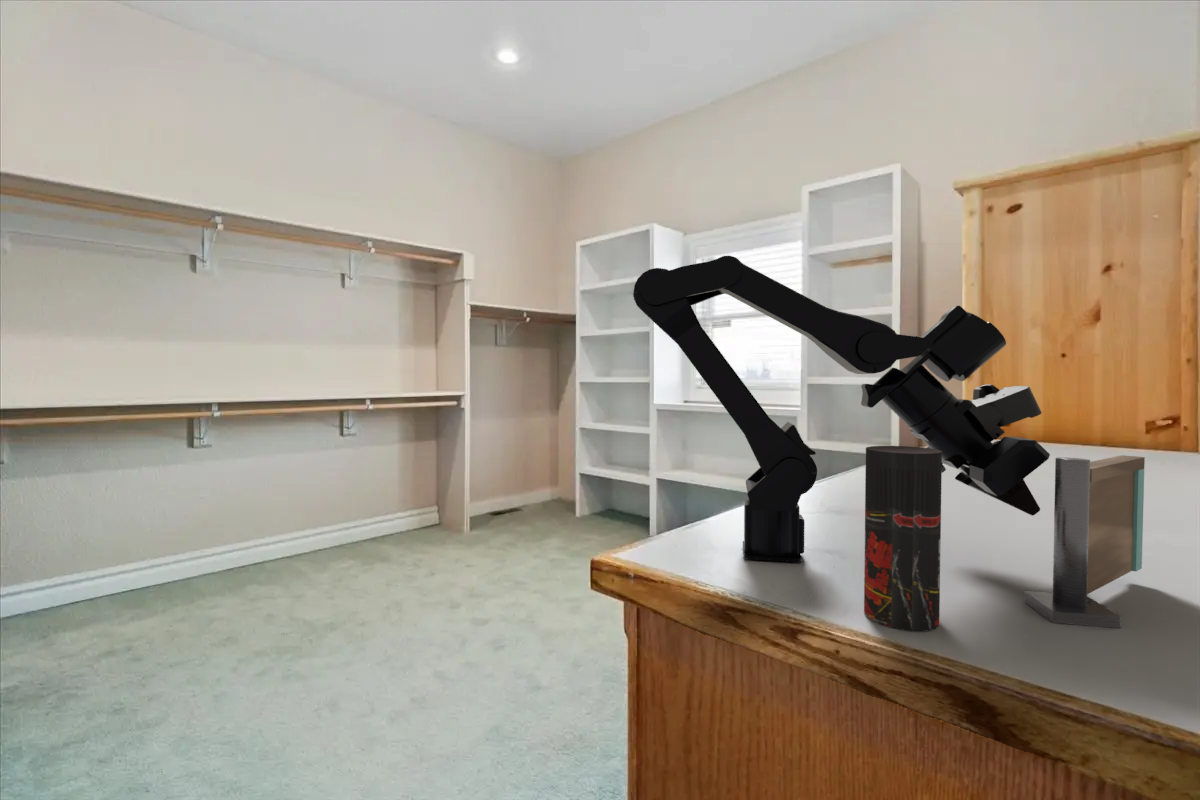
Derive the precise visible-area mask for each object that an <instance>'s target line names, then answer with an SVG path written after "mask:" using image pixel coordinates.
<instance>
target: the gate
mask: <svg viewBox="0 0 1200 800" xmlns="http://www.w3.org/2000/svg"><path fill="white" fill-rule="evenodd" d="M1145 458H1146V457H1145V456H1134V455H1124V454H1123V455H1116V456H1112V457H1108V458H1107V457H1106V458H1102V459H1097V460H1092V461H1090V495H1089V538H1088V581H1087V595H1089V594H1091V593H1093V592H1094V591H1097V590H1098V589H1100V588H1102V587H1104V586H1106V585H1107V584H1110V583H1111V582H1114V581H1116V580H1117V579H1119V578H1121V577H1123V576H1125V575H1127V574H1128V573H1131V572H1138V571H1140V570H1141V569H1142V568H1143V567H1142V565H1143V540H1144V539H1143V534H1144V499H1145V498H1144V494H1145V486H1144V485H1145V460H1146V459H1145Z"/></svg>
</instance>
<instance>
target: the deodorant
mask: <svg viewBox="0 0 1200 800" xmlns="http://www.w3.org/2000/svg"><path fill="white" fill-rule="evenodd" d="M942 465H943V464H942V451H940V450H937V449H931V448H927V447H919V446H903V445H875V446H874V445H873V446H867V447H865V487H864V488H865V491H864V492H865V494H864V497H865V499H864V500H865V501H864V568H863V569H864V573H863V575H864V577H863V579H864V580H863V581H864V585H863V587H864V588H863V591H864V592H863V593H864V594H863V612H864V613H863V614H864V615H865V616H866V618H868V619H869V620H871V621H872V622H874V623H877V624H878V625H881V626H884V627H887V628H891V629H894V630H899V631H907V632H918V633H919V632H921V633H922V632H930V631H933V630H936V629H937V628H939V626H940V605H941V603H940V600H941V595H940V594H941V591H940V590H941V586H940V585H941V539H942V538H941V536H942V534H941V530H942V477H943V476H942V474H943V473H942Z"/></svg>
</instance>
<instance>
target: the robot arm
mask: <svg viewBox="0 0 1200 800" xmlns="http://www.w3.org/2000/svg"><path fill="white" fill-rule="evenodd" d="M724 294H725V295H728V296H730V297H732V298H733V299H736V300H737V301H740V302H742V303H743V304H744V305H745V304H746V306H749V307H750V308H753V309H754V310H756V311H758V312H760V313H762V314H764V315H766V316H767V317H769V318H771V319H773V320H775V321H776V322H778V323H781V324H782V325H784V326H786V327H788V328H790V329H792V330H794V331H796V332H797V333H799V334H801V335H802V336H805V337H806V338H808V339H809V340H811V342H813V343H814V344H815V345H816V346H817V347H818V348H819V349H820V350H822V352H824V353H825V354H826V355H827V356H828V357H829V358H831V359H832V360H833V361H834V362H836V363H837V364H838V365H840V366H841V367H842V368H843V369H845V370H846V371H848V372H849V373H852V374H856V375H868V374H869V375H870V374H871V375H872V374H879V373H882V372H884V371H886V370H888V369H889V370H888V371H887V372H885V374H883V375H882V376H881V377H880V378H878V380H877V381H875V382H874V383H873V384H869V383H862V384H861V386H860V387H861V391H862V395H861V402H860V405H861V406H862V407H866V408H874V407H875V406H876V405H877V404H878V403H880V402H881V401H882V402H883V403H885V405H886V406H887V407H888V408H890V410H891V411H892V412H894V414H895V415H897V417H898V418H899V419H900V420H902V421H903V423H904V424H905V425H906V426H908V427H909V428H910V431H909V432H910V433H911V435H913V436H914V437H915V438H917V439H920V440H922V441H923V442H924V443H925V444H926V446H927V447H926V448H931V449H937V450H940V451H942V474H944V472H945V471H946V470H947V469H946V467H945V465H947V466H948V467H951V468H953V469H955V470H956V471H957V472H959V473H958V474H956V476H955V478H954V480H956V481H958V482H959V483H962V484H964V485H966V486H968V487H970V488H973V489H975V490H977V491H979V492H980V493H983V494H985V495H987V496H989V497H991V498H994V499H996V500H998V501H1000V502H1002V503H1004V504H1006V505H1009V506H1010V507H1013V508H1014V509H1017V510H1019V511H1022V512H1023V513H1025V514H1027V515H1029V516H1035V515H1036V514H1038V513H1040V511H1041V507H1040V506H1039V504H1038V503H1037V500H1036V499H1035V497H1034V495H1033V494H1032V492H1031V489H1030V488H1029V487H1028V485H1027V483H1026V481H1025V480H1024V479H1025V478H1026V477H1027V476H1029V475H1030V474H1032V472H1034V471H1035V470H1037V468H1039V467H1041V465H1043V464H1044V463H1045V462H1047V461H1048V460H1049V457H1050V456H1051V454H1050V453H1049V452H1048V451H1047V450H1046V449H1045V448H1044V447H1043V446H1042V445H1041V444H1040V443H1039V442H1038V441H1036V440H1035V439H1028V438H1026V437H1025V438H1024V437H1019V436H1003V437H1002V438H1001V439H999V438H1000V437H1001V436H1002V435H1004V434H1005V433H1006V432H1005V431H1004V430H1003V429H1002V428H1003V427H1006V426H1008V425H1011V424H1015V423H1016V422H1019V421H1021V420H1025V419H1027V418H1030V419H1031V418H1035V417H1038V416H1040V415H1041V414H1042V410H1041V408H1040V406H1039V404H1038V402H1037V400H1036V397H1035V396H1034V393H1033V391H1032V389H1031V387H1030V386H1029V385H1028V386H1026V385H1013V386H1009V387H1007V386H1006V387H1002V388H1001V389H999V388H998V387H996V385H994V384H988V383H987V384H983V385H979V386H977V387H975V388H973V394H972V399H971V400H969V399H967V398H966V399H963V398H961V399H960V398H957V397H956V396H955V395H954V394H953V393H952V392H951V390H949V389H947V387H945V386H944V385H943V384H942V382H940V381H939V380H938V379H937V378H936V377H938V378H939V379H940V380H942V381H944V382H950V381H951V380H953V379H954V380H957V381H959V382H964V381H966V380H967V379H968V378H969V377H970V376H972V374H974V373H975V372H976V371H977V370H979V369H980V368H981V367H982V366H984V364H985V363H987V362H988V361H990V359H991V358H993V357H994V356H995V355H996V354H998V352H1000V351H1001V350H1002V349H1003V348H1005V346H1006V345H1007V341H1006V338H1005V336H1004V335H1003V334H1002V332H1001V331H1000V330H999V329H998V328H997V326H995V325H994V324H993V323H991V321H986V320H984V319H983V318H981V317H979V316H978V315H976V314H973V313H972V312H969V311H966V310H965V309H964V308H963V306H961V305H956V306H952V307H950V308H949V309H948V310H947V311H946V312H944V314H942V316H941V317H940V319H939V320H938V321H937V322H935V324H934V325H933V326H931V327H930V328H929V329H928V330H926V331H925V332H924V333H923V334H922V335H921V336H918V335H906V334H898V333H896V331H895V330H894V329H892V328H891V327H890V326H888V324H885V323H881V322H879V321H875V320H872V319H869V318H866V317H864V316H863V317H862V316H860V315H857V314H852V313H848V312H844V311H838V310H835V309H832V308H830V307H826V306H825V305H823V304H821V303H819V302H818V301H815V300H813V299H811V298H809V297H807V296H805V295H804V294H801V293H799V292H797V291H796V290H794V289H792V288H790V287H788V286H787V285H785V284H782V283H781V282H778V281H777V280H774V279H773V278H771V277H769V276H767V275H765V274H764V273H762V272H760V271H758V270H756V269H754V268H752V267H750V266H748V265H746V264H745V263H743V262H742V261H741V260H740V259H738V258H737V257H735V256H732V255H723V256H720V257H718V258H715V259H712V260H709V261H705V262H698V263H693V264H688V265H683V266H680V267H676V268H673V269H670V270H669V269H667V268H661V267H654V268H650V269H647V270H646V271H644V272H643V273H642V274H640V276H638V277H637V279H636V282H635V283H634V288H633V292H632V295H633V300H634V302H635V304H636V306H637V308H638V309H639V310H641V311H642V313H644V314H645V315H646V316H647V317H648V318H649V319H650V320H651V321H652V322H653V323H654V324H655V325H657V326H658V328H660V329H661V331H663V333H665V334H666V335H667V336H668V337H669V338H671V339H672V341H673V342H674V343H676V344H677V345H678V347H679V348H680V349H681V351H682V352H683V354H684V355H685V356H686V357H687V359H688V360H689V362H690V363H691V365H692V366H693V367H694V368H695V370H696V371H697V373H698V374H699V375H700V377H702V379H703V380H704V382H705V383H706V385H707V386H708V387H709V389H710V390H711V391H712V393H713V394H714V396H715V397H716V399H718V401H719V402H720V404H721V405H722V406H723V408H724V409H725V410H726V412H727V413H728V415H730V417H731V419H732V420H733V421H734V422H735V424H736V425H737V426H738V428H739V429H740V430H741V433H743V435H744V437H745V438H746V441H747V443H748V444H749V445H748V446H750V449H751V451H752V453H753V455H754V457H755V459H756V462H757V463H758V465H759V467H758V469H757V470H756V471H754V472H753V473H752V474H751V475H750V476H749V477H748V478H747V479H746V480H745V486H746V491H747V492H746V493H747V494H746V495H747V497H748V499H744V500H743V505H744V506H743V513H744V514H743V515H744V517H743V519H744V520H743V522H744V523H743V541H742V551H743V552H742V553H743V554H742V555H743V558H744V559H745V560H757V561H772V562H773V561H774V562H787V563H788V562H789V563H801V562H802V555H801V554H803V555H804V553H805V519H804V517H803V515H802V514H801V513H800V506H799V500H800V498H801V496H802V495H804V494H806V493H807V492H809V491H810V490H811V489H813V487H814V485H815V482H817V481H816V480H817V476H818V468H817V464H816V462H815V460H814V459H813V457H812V456H815V455H816V451H815V450H813V448H811V447H810V446H809V445H808V444H806V443H805V442H804V440H803V439H802V438H803V437H802V436H801V435H800V433H799V430H798V428H797V427H796V425H795V424H793V423H792V422H790V421H787V422H786V423H785V424H784V425H783V426H781V427H780V426H779V425H778V424H777V423H776V422H775V421H774V420H773V419H772V418H771V417H770V416H769V415H768V414H767V413H766V411H765V410H764V408H763V407H762V406H761V404H760V403H759V401H758V400H757V399H756V398H755V396H754V395H753V394H752V392H751V391H750V390H749V388H748V387H747V386H746V385H745V383H744V382H743V380H742V379H741V378H740V377H739V375H738V374H737V372H736V371H735V370H734V369H733V367H732V366H731V364H730V363H729V362H728V360H727V359H726V357H725V356H724V355H723V354H722V352H721V351H720V350H719V349H718V347H717V345H716V344H715V343H714V342H713V341H712V338H710V336H709V335H708V334H707V332H706V331H705V330H704V328H703V327H702V325H701V323H700V321H699V319H698V317H697V314H696V313H695V311H694V308H693V307H692V306H693V305H697V304H699V303H700V304H701V303H703V302H704V301H705V302H706V301H707V300H710V299H712V298H715V297H718V296H721V295H724ZM909 358H913V359H912V360H911V361H910V362H909V363H908V364H906V365H905V366H904V367H903V368H901V369H898V368H897V367H892V366H893V365H895V362H896V361H898V360H899V361H900V360H905V359H909ZM923 364H924V365H925V366H926V367H925V366H924V365H923ZM934 375H935V376H936V377H935V376H934ZM997 439H999V440H997ZM995 440H996V441H995ZM993 441H994V442H993Z"/></svg>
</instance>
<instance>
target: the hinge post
mask: <svg viewBox="0 0 1200 800" xmlns="http://www.w3.org/2000/svg"><path fill="white" fill-rule="evenodd" d="M1054 462H1055V467H1054V468H1055V470H1054V471H1055V472H1054V478H1055V479H1054V512H1053V513H1054V516H1053V517H1054V519H1053V521H1054V522H1053V554H1052V555H1053V561H1052V563H1053V564H1052V566H1053V567H1052V592H1048V591H1047V592H1046V591H1033V590H1023V602H1024V603H1025V604H1026V605H1028V606H1029V607H1031V608H1032V609H1033V610H1034V611H1037V612H1038V613H1039V614H1041V616H1042V617H1044V618H1046V619H1047V620H1048V621H1050V622H1051V623H1053V624H1066V625H1077V626H1079V625H1080V626H1089V627H1091V626H1093V627H1104V628H1105V627H1106V628H1117V629H1120V628H1121V616H1120V615H1119V614H1117V613H1115V612H1114V611H1113V610H1111V609H1109V608H1107V607H1106V606H1104V605H1103V604H1100V603H1099V602H1097V601H1096V600H1094V599H1092V598H1091V597H1089V596H1088V594H1087V581H1088V538H1089V495H1090V462H1091V459H1087V458H1081V457H1080V458H1079V457H1066V456H1065V457H1062V456H1061V457H1055V460H1054Z"/></svg>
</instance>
